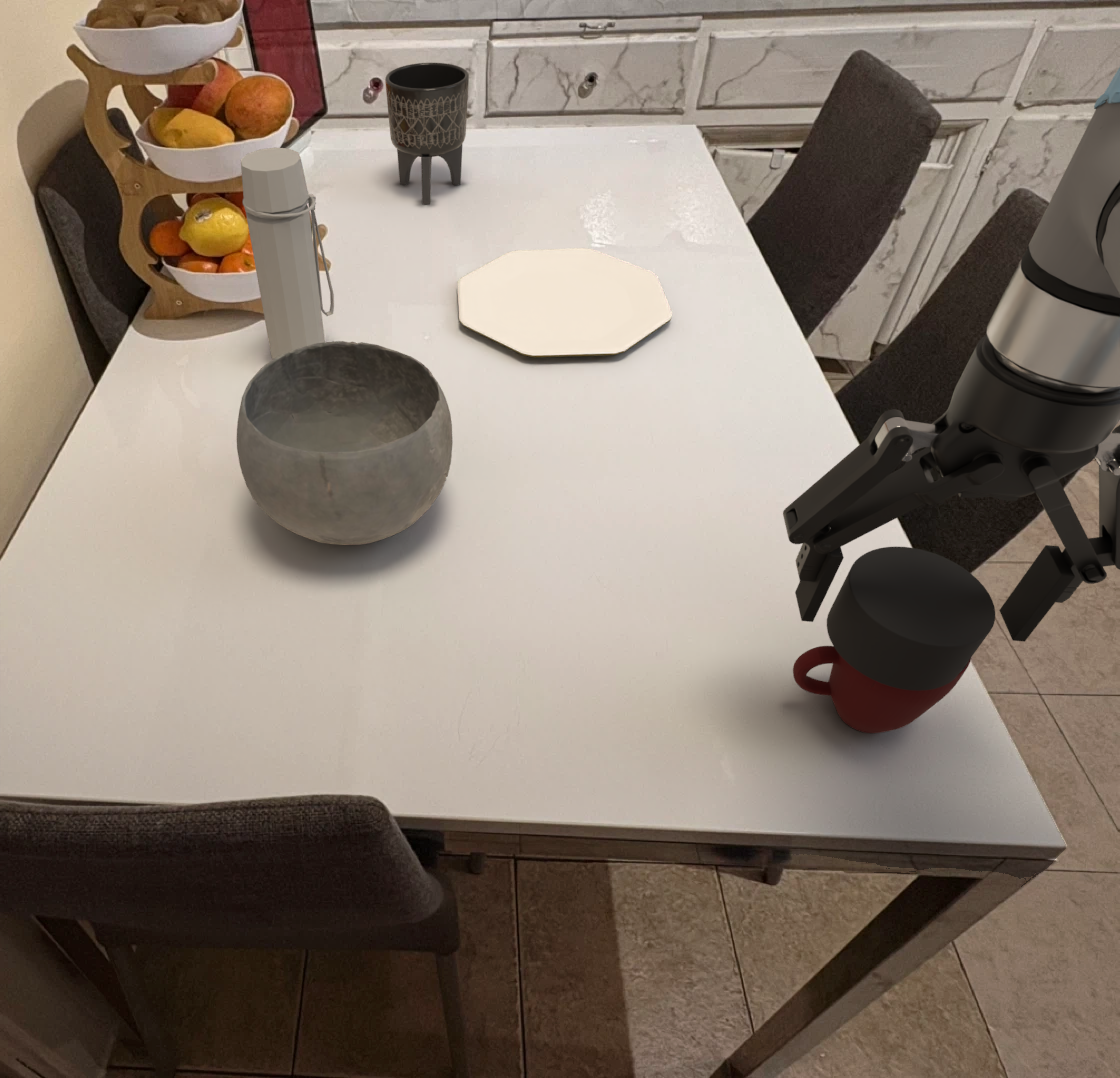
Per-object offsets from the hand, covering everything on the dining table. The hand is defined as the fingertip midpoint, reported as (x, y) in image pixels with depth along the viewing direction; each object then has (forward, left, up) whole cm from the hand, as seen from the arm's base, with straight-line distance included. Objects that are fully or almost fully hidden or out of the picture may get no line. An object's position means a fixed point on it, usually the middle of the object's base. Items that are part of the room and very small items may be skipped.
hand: (905, 616), depth 59 cm
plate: (+52, -41, -13) cm, 68 cm away
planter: (+90, -61, -13) cm, 110 cm away
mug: (0, 0, -13) cm, 13 cm away
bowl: (+48, +6, -13) cm, 50 cm away
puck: (0, 0, -2) cm, 2 cm away
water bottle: (+72, -12, -13) cm, 74 cm away
